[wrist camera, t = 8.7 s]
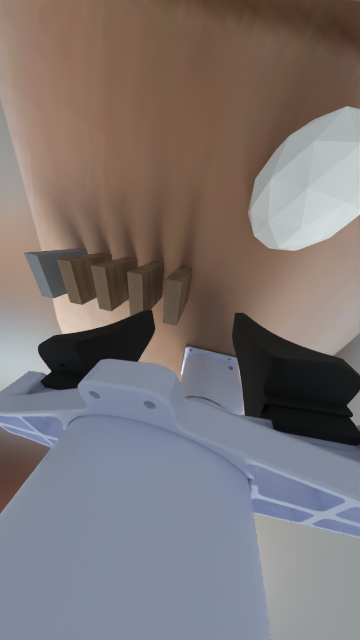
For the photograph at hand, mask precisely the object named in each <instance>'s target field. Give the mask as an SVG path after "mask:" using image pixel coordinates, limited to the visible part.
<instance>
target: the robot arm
mask: <svg viewBox="0 0 360 640" xmlns="http://www.w3.org/2000/svg"><path fill="white" fill-rule="evenodd" d="M154 331H155V324H154V319H153V313H152V310H144V311H141V312H139V313H136V314H134V315H132V316H130V317H128V318H125V319H123V320H121V321H118V322H116V323H113V324H110V325H107V326H104V327H100V328H96V329H92V330H87V331H82V332H76V333H69V334H61V335H55V336H52V337H51V338H49V339H47V340H46V341H44V342H42V343H41V344H40V345H39V346H38V352H39V355H40V356H41V358H42V359H43V360H44V362H45V363H46V365H47V366H48V367H49V369H50V370H51V371H52V372H51V373H49V374H48V375H46V374H44V373H40V372H34V371H29V372H27V373H26V374H25V375H23V376H22V377H20V378H19V379H18V380H16V381H15V382H13V383H12V384H11V385H9V386H8V387H6V388H5V389H4V390H2V391H1V392H0V426H1V427H2V428H4V429H6V430H7V431H8V432H10V433H13V434H16V435H20V436H22V437H25V438H28V439H31V440H33V441H36V442H39V443H41V444H44V445H46V446H49V447H51V449H50V451H49V452H48V453H47V455H46V456H45V457H44V458H43V460H42V461H41V462H40V463H39V465H38V466H37V467H36V469H35V470H34V471H33V473H32V474H31V475H30V476H29V478H28V479H27V480H26V482H25V483H24V484H23V485H22V487H21V488H20V489H19V491H18V492H17V493H16V494H15V496H14V497H13V498H12V500H11V501H10V502H9V504H8V505H7V506H6V507H5V509H4V510H3V511H2V512H1V514H0V640H271V633H270V626H269V619H268V612H267V605H266V598H265V591H264V584H263V577H262V570H261V563H260V556H259V549H258V542H257V535H256V528H255V522H254V514H258V515H263V516H267V517H272V518H276V519H280V520H285V521H289V522H293V523H298V524H302V525H306V526H311V527H315V528H319V529H324V530H328V531H333V532H337V533H341V534H345V535H350V536H354V537H358V538H360V426H356V425H355V424H354V423H353V422H352V421H351V419H350V418H349V417H352V416H353V414H352V412H351V411H350V409H349V408H348V407H347V404H348V403H349V402H350V401H351V400H352V399H353V398H354V397H355V396H356V394H357V393H358V392H359V390H360V375H359V374H358V373H357V372H356V371H355V370H354V369H353V368H352V367H351V366H350V365H349V364H347V362H345V361H344V360H343V359H341V358H338V357H334V356H331V355H327V354H324V353H320V352H317V351H314V350H311V349H308V348H305V347H302V346H300V345H297V344H295V343H292V342H290V341H288V340H285V339H283V338H281V337H279V336H277V335H275V334H273V333H271V332H270V331H268V330H267V329H265V328H263V327H262V326H260V325H259V324H258V323H256V322H255V321H253V320H252V319H251V318H250V317H248V316H247V315H246V314H244V313H235V318H234V325H233V332H232V336H233V345H234V349H235V353H236V357H237V358H236V357H232V356H228V355H224V354H220V353H215V352H211V351H207V350H202V349H198V348H194V347H190V346H187V347H186V349H185V354H184V359H183V365H182V370H181V375H182V377H181V382H180V381H179V379H178V377H177V375H176V374H175V373H173V372H172V371H171V370H170V369H168V368H167V367H164V366H160V365H157V364H150V363H141V362H138V360H139V358H140V357H141V355H142V353H143V352H144V350H145V348H146V347H147V345H148V343H149V342H150V340H151V338H152V336H153V334H154ZM190 349H192V350H190ZM229 358H230V359H229ZM237 362H238V364H239V369H240V375H241V383H242V389H241V384H240V378H239V373H238V367H237ZM242 391H243V397H242ZM243 400H244V410H245V416H244V415H241V412H242V404H243ZM253 513H254V514H253Z"/></svg>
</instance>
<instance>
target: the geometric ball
mask: <svg viewBox="0 0 360 640" xmlns="http://www.w3.org/2000/svg"><path fill="white" fill-rule="evenodd" d="M359 215H360V109H357V108H353V107H349V106H346V107H344V108H341V109H339V110H336V111H334V112H331V113H329V114H326V115H324V116H321V117H319V118H316V119H314V120H313V121H311V122H310V123H308V124H306V125H305V126H303V127H302V128H300V129H299V130H297V131H296V132H294V133H293V134H291V135H290V136H289V137H288V138H287V139H286V140H285V141H284V142H283V143H282V144H281V145H280V146H279V147H278V148H277V149H276V150H275V152H274V153H273V155H272V156H271V157H270V159H269V160H268V162H267V163H266V164H265V166H264V167H263V169H262V170H261V171H260V173H259V174H258V176H257V177H256V179H255V183H254V187H253V192H252V196H251V201H250V205H249V210H248V216H249V219H250V223H251V227H252V231H253V234H254V236H255V237H256V238H257V239H258V240H259V241H261V242H262V243H263V244H264V245H265V246H266V247H268V248H271V249H280V250H290V251H296V250H299V249H302V248H304V247H307V246H310V245H312V244H315V243H318V242H321V241H323V240H326V239H329V238H330V237H331V236H333V235H334V234H335V233H337V232H338V231H339V230H340V229H342V228H343V227H344V226H346V225H347V224H348V223H349V222H351V221H352V220H353V219H355V218H356V217H357V216H359Z"/></svg>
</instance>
